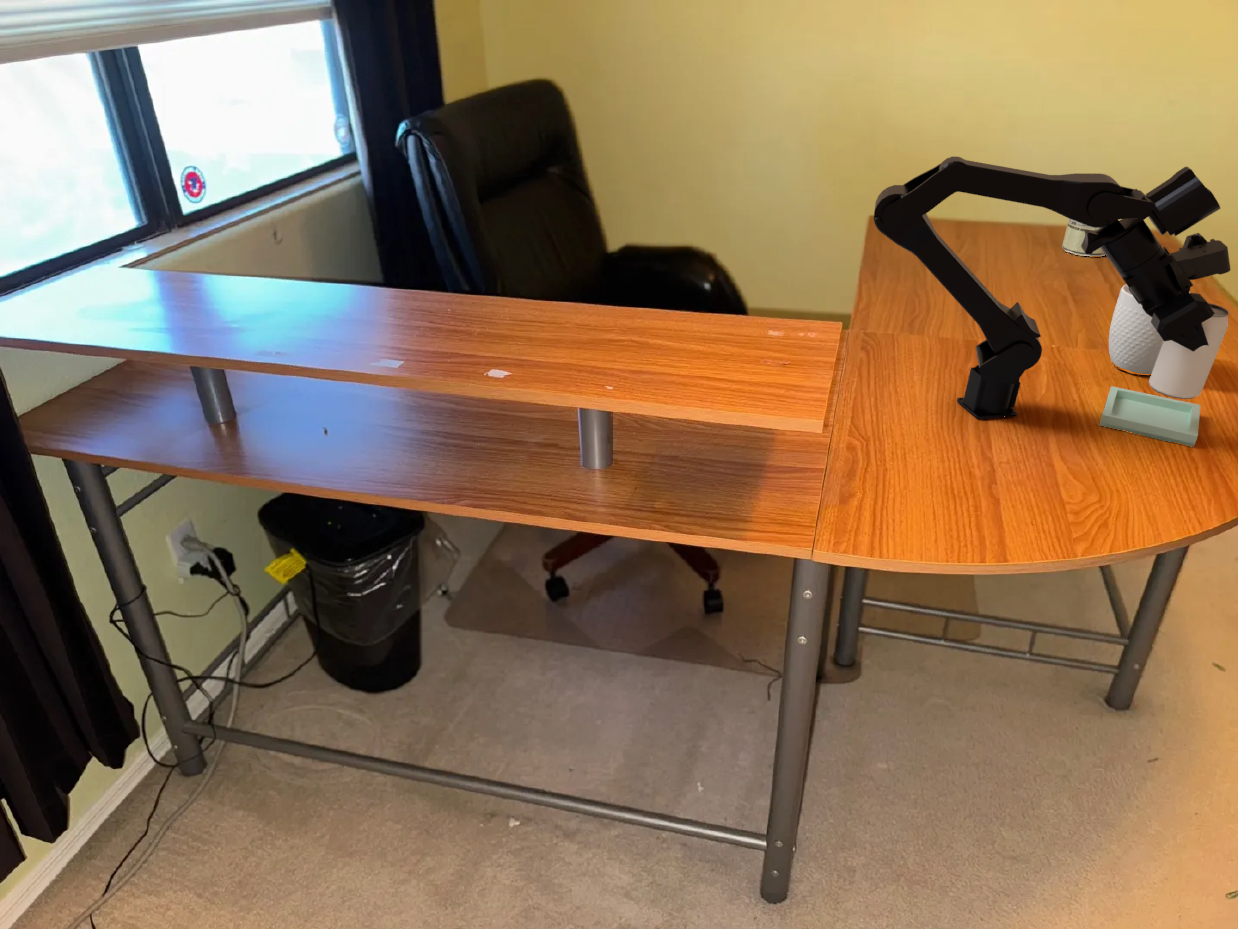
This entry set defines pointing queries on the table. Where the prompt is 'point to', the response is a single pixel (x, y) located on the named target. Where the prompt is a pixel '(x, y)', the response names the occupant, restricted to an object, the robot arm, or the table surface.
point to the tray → (1151, 416)
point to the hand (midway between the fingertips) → (1201, 346)
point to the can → (1189, 360)
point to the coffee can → (1078, 239)
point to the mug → (1133, 336)
